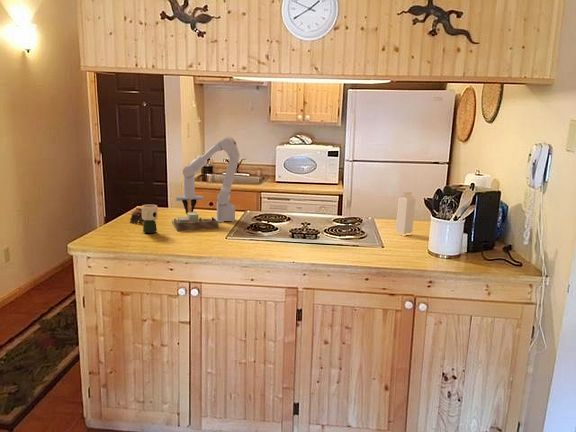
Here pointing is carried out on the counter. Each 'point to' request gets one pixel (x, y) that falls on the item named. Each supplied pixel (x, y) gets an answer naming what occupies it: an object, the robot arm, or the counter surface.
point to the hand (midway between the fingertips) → (189, 213)
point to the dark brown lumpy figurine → (136, 216)
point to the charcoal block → (183, 219)
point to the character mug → (149, 218)
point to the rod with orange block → (192, 215)
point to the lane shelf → (196, 225)
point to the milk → (405, 213)
